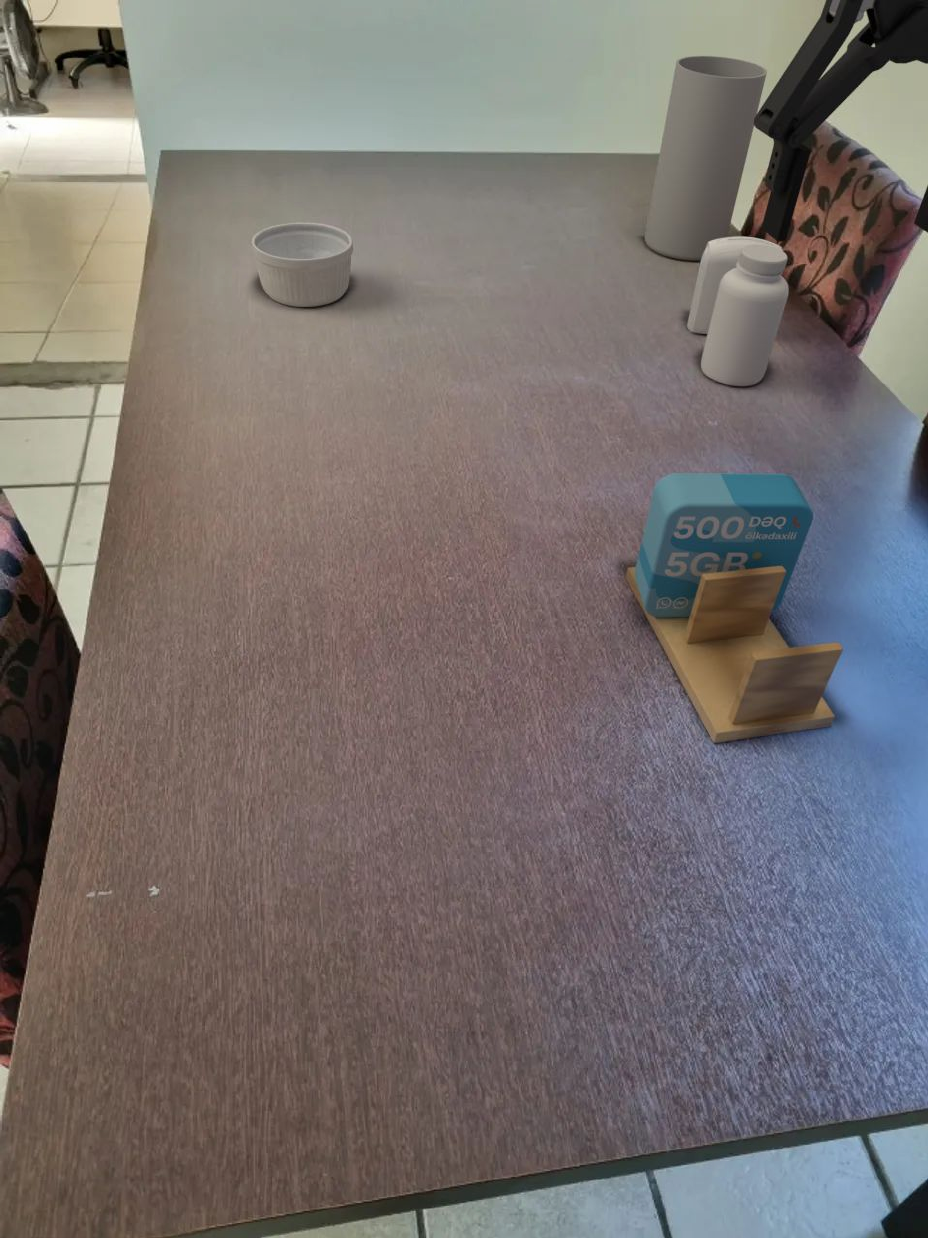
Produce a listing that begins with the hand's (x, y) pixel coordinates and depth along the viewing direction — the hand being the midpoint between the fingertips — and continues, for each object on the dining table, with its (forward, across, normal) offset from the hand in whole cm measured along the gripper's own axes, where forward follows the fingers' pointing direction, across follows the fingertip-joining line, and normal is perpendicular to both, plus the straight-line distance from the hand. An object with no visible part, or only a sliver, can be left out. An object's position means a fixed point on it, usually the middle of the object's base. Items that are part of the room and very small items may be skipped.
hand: (851, 232), depth 74 cm
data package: (+28, +11, +11) cm, 32 cm away
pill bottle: (+29, -11, -30) cm, 43 cm away
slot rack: (+29, +11, +16) cm, 35 cm away
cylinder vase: (+29, -21, -70) cm, 79 cm away
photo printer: (+29, -15, -41) cm, 52 cm away
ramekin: (+29, +39, -59) cm, 76 cm away
